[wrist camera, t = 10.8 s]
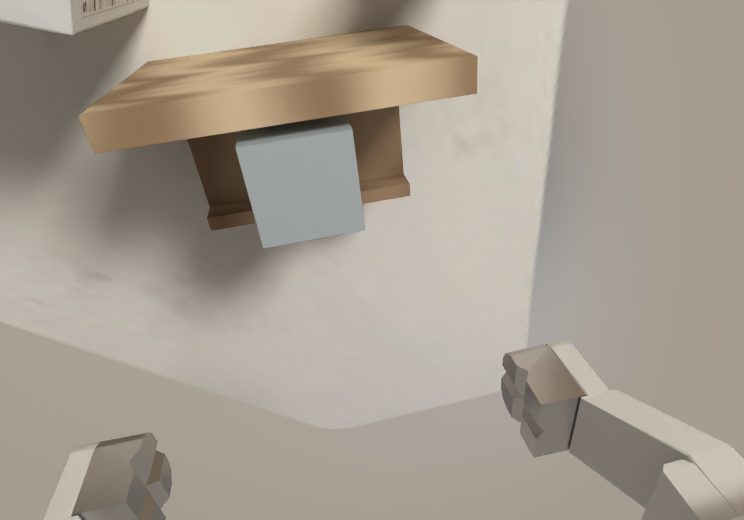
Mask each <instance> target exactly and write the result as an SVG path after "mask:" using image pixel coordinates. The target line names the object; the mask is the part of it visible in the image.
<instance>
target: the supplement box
mask: <svg viewBox="0 0 744 520" xmlns="http://www.w3.org/2000/svg"><path fill="white" fill-rule="evenodd" d="M148 6H149V0H0V22H1V23H6V24H11V25H16V26H21V27H26V28H31V29H36V30H42V31H47V32H52V33H58V34H63V35H69V36H74V35H75V34H78V33H80V32H83V31H87V30H89V29H92V28H94V27H97V26H100V25H103V24H105V23H108V22H111V21H114V20H116V19H119V18H122V17H124V16H127V15H130V14H132V13H135V12H137V11H140V10H142V9H145V8H147V7H148Z"/></svg>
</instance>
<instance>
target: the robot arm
mask: <svg viewBox="0 0 744 520" xmlns="http://www.w3.org/2000/svg"><path fill="white" fill-rule="evenodd" d="M503 367H504V369H505V370H506V373H505V375H504V376H503V377H502V378H501V390H502V395H503V399H504V402H505V404H506V407H507V409H508V411H509V413H510V415H511V417H513V418H514V419H516V420H517V421H519V422H521V429H520V434H521V435H522V437H523V439H524V441H525V443H526V445H527V446H528V448H529V450H530V452H531V453H532V455H533V457H538V456H542V455H547V454H552V453H557V452H561V451H566V450H569V452H570V453H571V454H573V455H574V456H575V457H577V458H578V459H579V460H581V461H582V462H583V463H585V464H586V465H587V466H589V467H590V468H591V469H593V470H594V471H595V472H597V473H598V474H600V475H601V476H602V477H604V478H605V479H607V480H608V481H609V482H610V483H612V484H613V485H614V486H616V487H617V488H618V489H620V490H622V491H623V492H624V493H625V494H627V495H628V496H629V497H631V498H632V499H633V500H635V501H636V502H638V503H639V504H640V505H641V506H643V507H644V508H646V509H645V511H644V514H643V516H642V518H641V520H744V460H743V458H742V457H741V456H740V455H739V454H738V453H737V452H736V451H735V450H734V449H733V448H732V447H731V446H730V445H728V444H726V443H724V442H722V441H720V440H718V439H716V438H713V437H712V436H709V435H707V434H705V433H703V432H701V431H699V430H697V429H695V428H693V427H691V426H689V425H687V424H685V423H683V422H681V421H679V420H677V419H675V418H673V417H671V416H669V415H667V414H665V413H663V412H661V411H659V410H657V409H655V408H653V407H651V406H649V405H647V404H644V403H642V402H640V401H638V400H636V399H634V398H632V397H630V396H628V395H626V394H624V393H622V392H620V391H618V390H616V389H614V390H609V389H608V388H607V387H606V386H605V385H604V383H603V382H602V381H601V379H600V378H599V377H598V376H597V375H596V373H595V372H594V371H593V370H592V368H591V367H590V366H589V365H588V364H587V362H586V361H585V360H584V359H583V357H582V356H581V355H580V354H579V353H578V351H577V350H576V349H575V348H574V346H573V345H572V344H571V343H570V342H569V341H567V340H563V341H558V342H554V343H550V344H545V345H539V346H535V347H531V348H526V349H522V350H518V351H513V352H509V353H505V355H504V357H503ZM156 446H157V440H156V439H155V437H154V436H153V434H152V433H144V434H139V435H134V436H129V437H124V438H118V439H113V440H108V441H103V442H99V443H94V444H90V445H84V446H79V447H76V448H75V449H74V450H73V451H72V452H71V453H70V455H69V457H68V459H67V462H66V464H65V467H64V469H63V472H62V474H61V477H60V479H59V482H58V484H57V486H56V489H55V492H54V494H53V496H52V499H51V501H50V504H49V506H48V509H47V511H46V514H45V516H44V518H43V520H165V519H166V517H165V515H164V514H163V512H162V511H161V507H162V506H163V505H164V503H165V502H166V501H167V500H168V498H169V497H170V490H171V485H172V481H171V468H170V465H169V462H168V459H167V457H166V456H165V454H163V453H161V452H159V451H156Z"/></svg>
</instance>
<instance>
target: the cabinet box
mask: <svg viewBox="0 0 744 520" xmlns="http://www.w3.org/2000/svg"><path fill="white" fill-rule="evenodd" d="M236 152H237V156H238V159H239V163H240V166H241V170H242V174H243V177H244V181H245V184H246V188H247V192H248V195H249V199H250V203H251V206H252V210H253V213H254V217H255V221H256V224H257V228H258V232H259V235H260V239H261V242H262V246H263V248H269V247H274V246H280V245H285V244H291V243H296V242H302V241H307V240H312V239H318V238H323V237H329V236H334V235H340V234H345V233H351V232H356V231H362V230H365V223H364V215H363V207H362V200H361V192H360V184H359V176H358V169H357V161H356V153H355V145H354V138H353V130H352V127H351V125H350V123H349V121H348V119H347V117H346V115H345V114H344V115H337V116H331V117H325V118H318V119H312V120H305V121H299V122H293V123H286V124H280V125H274V126H267V127H261V128H255V129H248V130H242V131H239V133H238V138H237V143H236Z"/></svg>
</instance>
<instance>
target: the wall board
mask: <svg viewBox="0 0 744 520" xmlns="http://www.w3.org/2000/svg"><path fill="white" fill-rule="evenodd" d="M470 94H477V56H475V55H473V54H471V53H469V52H466V51H464V50H462V49H460V48H457V47H455V46H453V45H451V44H448V43H446V42H444V41H442V40H439V39H437V38H435V37H433V36H430V35H428V34H426V33H424V32H422V31H419V30H417V29H415V28H413V27H410V26H408V25H406V26H399V27H392V28H385V29H378V30H371V31H363V32H356V33H349V34H342V35H335V36H328V37H321V38H314V39H307V40H300V41H293V42H286V43H279V44H272V45H264V46H257V47H250V48H243V49H236V50H229V51H222V52H215V53H208V54H201V55H194V56H187V57H180V58H173V59H165V60H158V61H151V62H147V63H146V64H144V65H143V66H142V67H141V68H139V69H138V70H137V71H135V72H134V73H133V74H132V75H130V76H129V77H128V78H126V79H125V80H124V81H123V82H121V83H120V84H119V85H117V86H116V87H115V88H114V89H112V90H111V91H110V92H109V93H107V94H106V95H105V96H103V97H102V98H101V99H100V100H98V101H97V102H96V103H94V104H93V105H92V106H91V107H89V108H88V109H87V110H85V111H84V112H83V113H82V114H80V115H79V116H78V118H79V120H80V122H81V124H82V127H83V129H84V131H85V133H86V135H87V138H88V140H89V142H90V144H91V146H92V149H93V151H94V153H95V154H96V153H103V152H109V151H115V150H122V149H128V148H134V147H141V146H147V145H153V144H160V143H166V142H172V141H179V140H185V139H188V142H189V145H190V148H191V151H192V154H193V157H194V160H195V163H196V166H197V169H198V172H199V175H200V178H201V181H202V184H203V187H204V190H205V193H206V196H207V199H208V202H209V205H210V210H209V214H208V218H207V219H208V222H209V225H210V228H211V231H212V230H217V229H223V228H229V227H234V226H240V225H246V224H251V223H256V221H255V217H254V213H253V210H252V206H251V203H250V199H249V195H248V192H247V188H246V184H245V181H244V177H243V174H242V170H241V166H240V163H239V159H238V156H237V152H236V143H237V138H238V133H239V131H242V130H248V129H255V128H261V127H267V126H274V125H280V124H286V123H293V122H299V121H305V120H312V119H318V118H325V117H331V116H337V115H344V114H345V115H346V117H347V119H348V121H349V123H350V125H351V127H352V130H353V138H354V145H355V153H356V161H357V169H358V176H359V184H360V192H361V200H362V204H364V203H370V202H376V201H381V200H387V199H393V198H398V197H404V196H410V186H409V182H408V180H407V179H406V177H405V176H404V174H403V160H402V146H401V132H400V119H399V106H401V105H407V104H413V103H420V102H426V101H432V100H439V99H445V98H451V97H458V96H464V95H470Z"/></svg>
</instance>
